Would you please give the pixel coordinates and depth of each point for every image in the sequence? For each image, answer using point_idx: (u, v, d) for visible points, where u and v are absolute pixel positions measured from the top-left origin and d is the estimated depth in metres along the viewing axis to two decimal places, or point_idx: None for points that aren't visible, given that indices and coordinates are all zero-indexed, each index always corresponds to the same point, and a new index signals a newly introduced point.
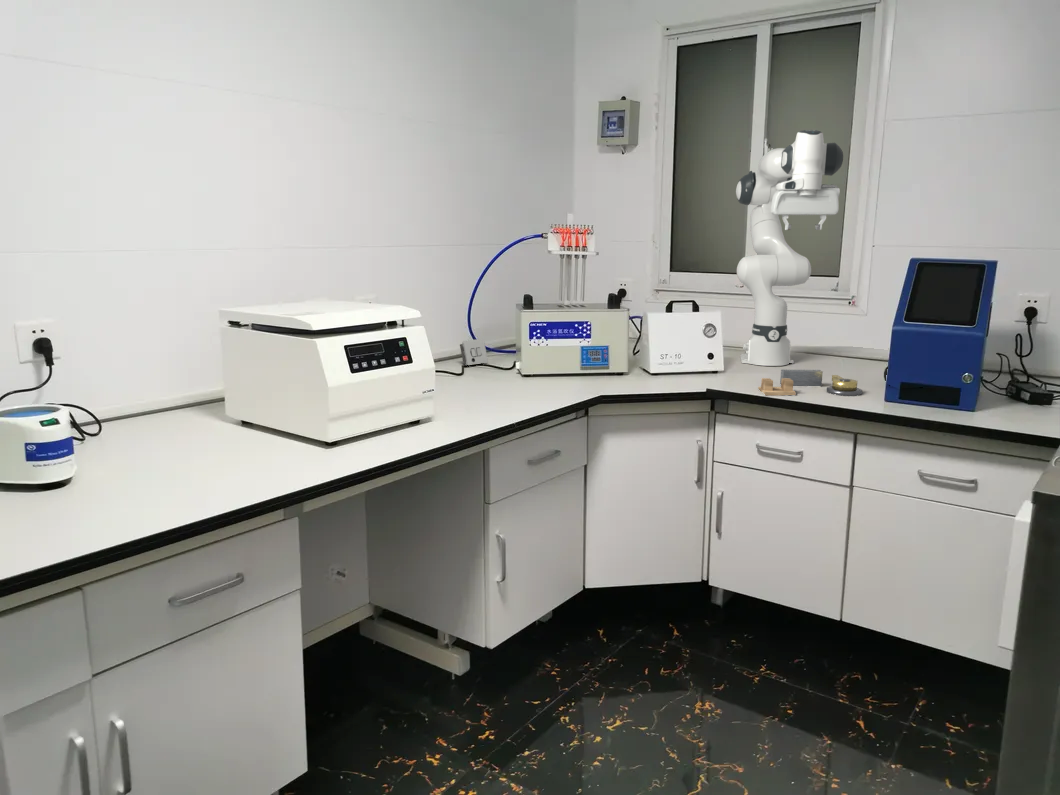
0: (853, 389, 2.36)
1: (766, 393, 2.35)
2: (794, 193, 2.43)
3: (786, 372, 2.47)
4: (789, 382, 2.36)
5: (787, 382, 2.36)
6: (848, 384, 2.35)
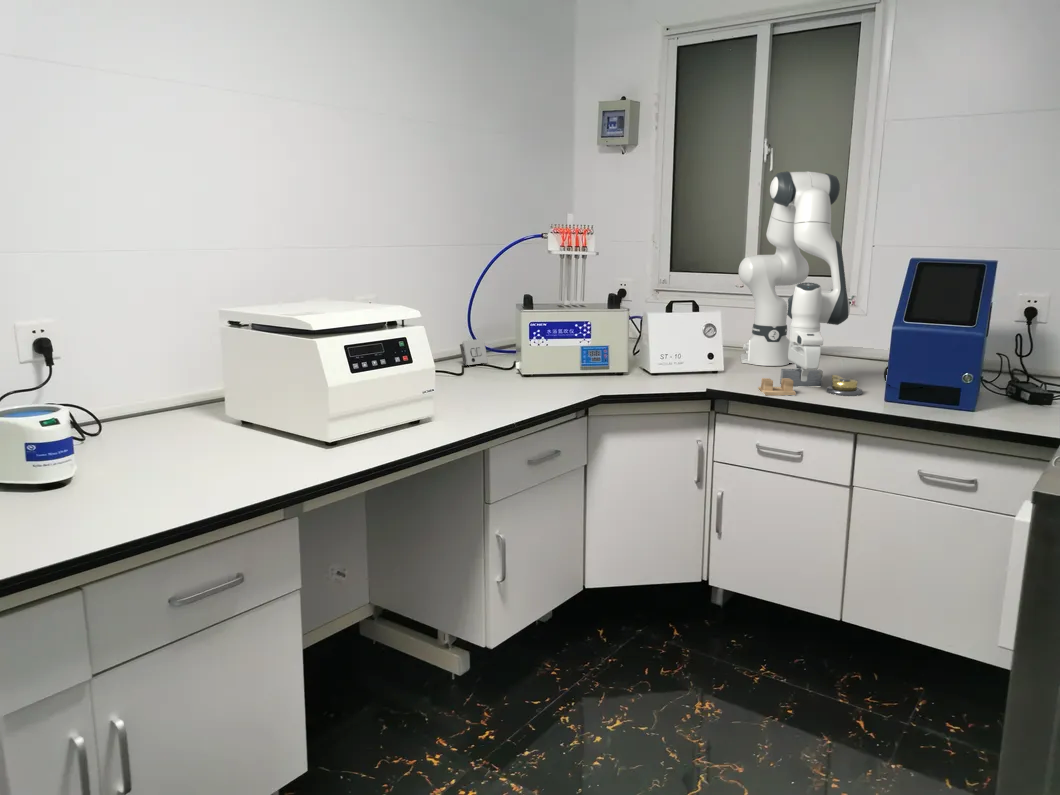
0: (853, 389, 2.36)
1: (766, 393, 2.35)
2: None
3: (785, 371, 2.47)
4: (789, 382, 2.36)
5: (787, 382, 2.36)
6: (848, 384, 2.35)
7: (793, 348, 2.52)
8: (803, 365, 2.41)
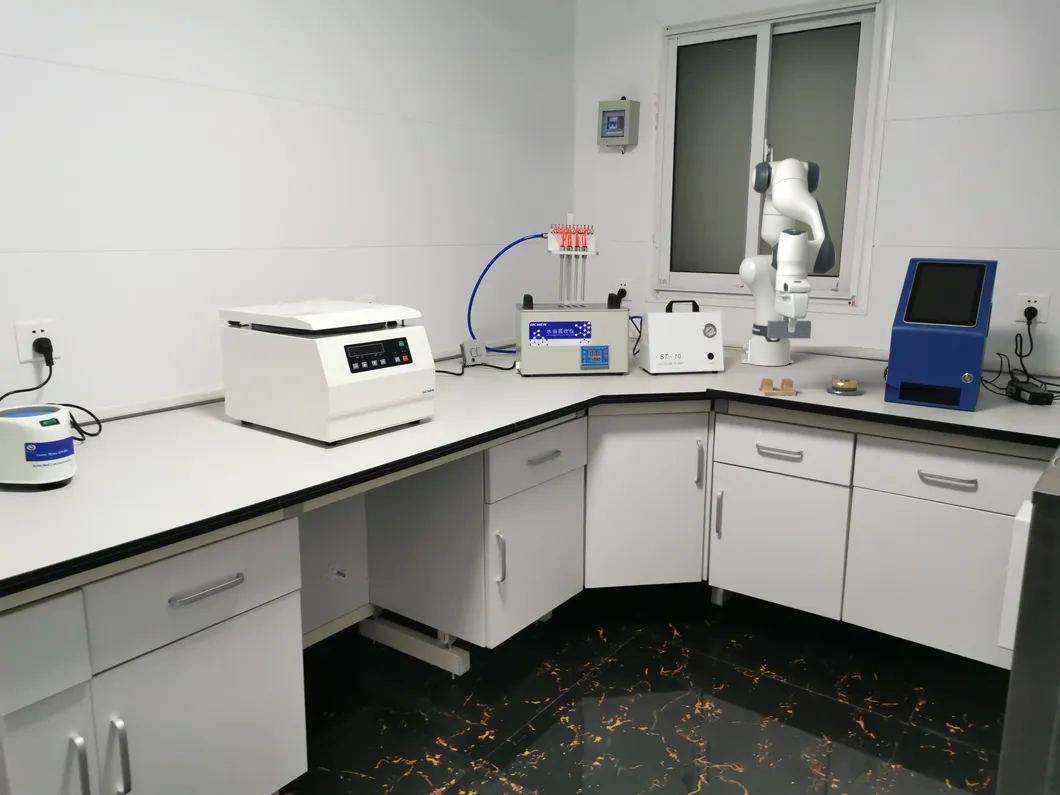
0: (853, 389, 2.36)
1: (766, 393, 2.35)
2: None
3: (772, 322, 2.35)
4: (789, 382, 2.36)
5: (787, 382, 2.36)
6: (848, 384, 2.35)
7: (779, 299, 2.40)
8: (790, 314, 2.29)
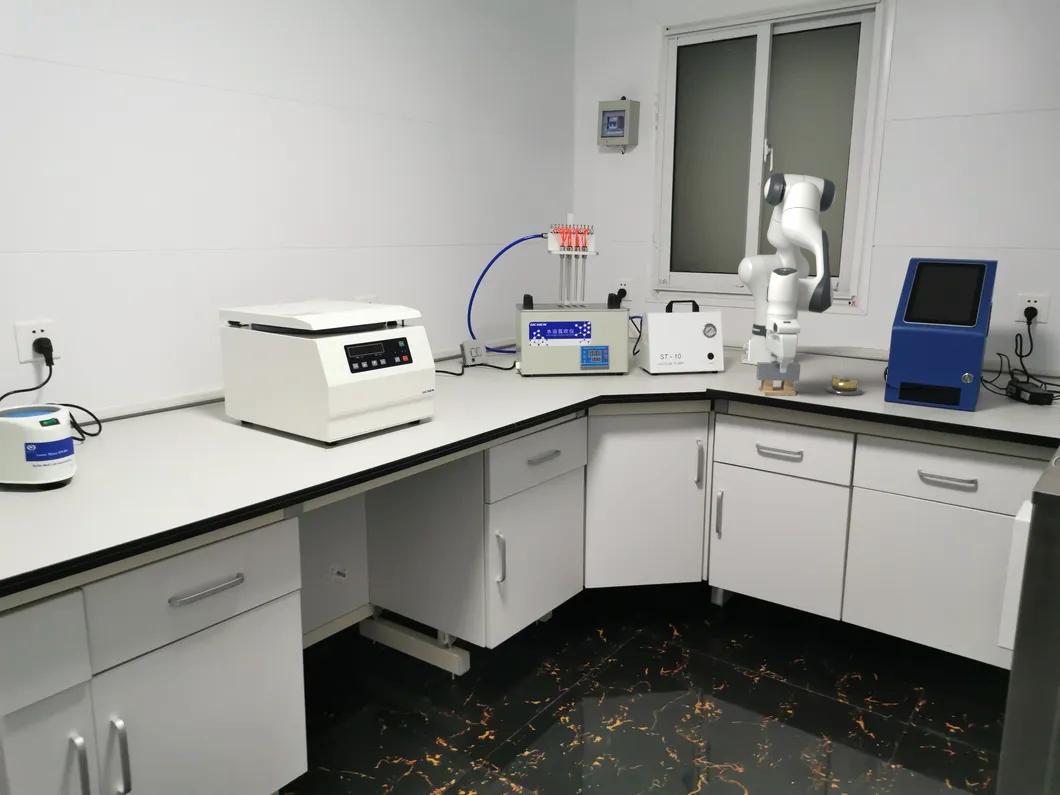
0: (853, 389, 2.36)
1: (766, 393, 2.35)
2: None
3: (762, 365, 2.36)
4: (789, 382, 2.36)
5: (787, 382, 2.36)
6: (848, 384, 2.35)
7: (770, 337, 2.40)
8: (779, 354, 2.29)
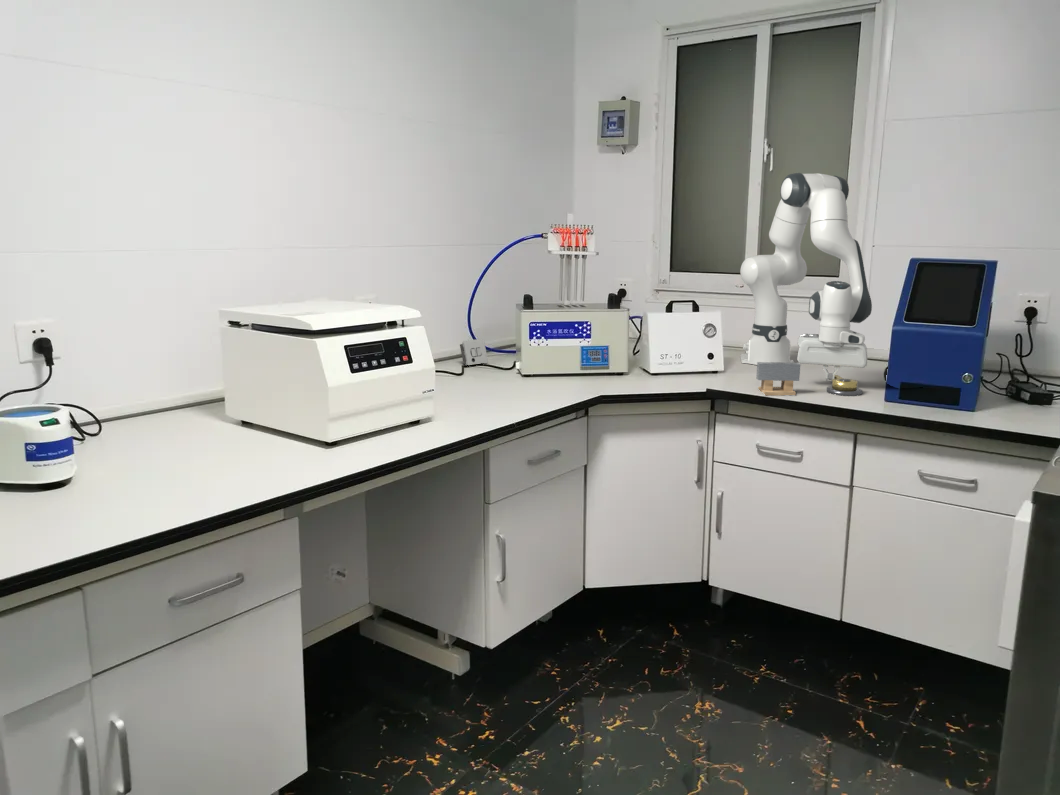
0: (853, 389, 2.36)
1: (766, 393, 2.35)
2: None
3: (762, 365, 2.36)
4: (789, 382, 2.36)
5: (787, 382, 2.36)
6: (848, 384, 2.35)
7: (814, 350, 2.44)
8: (855, 364, 2.39)
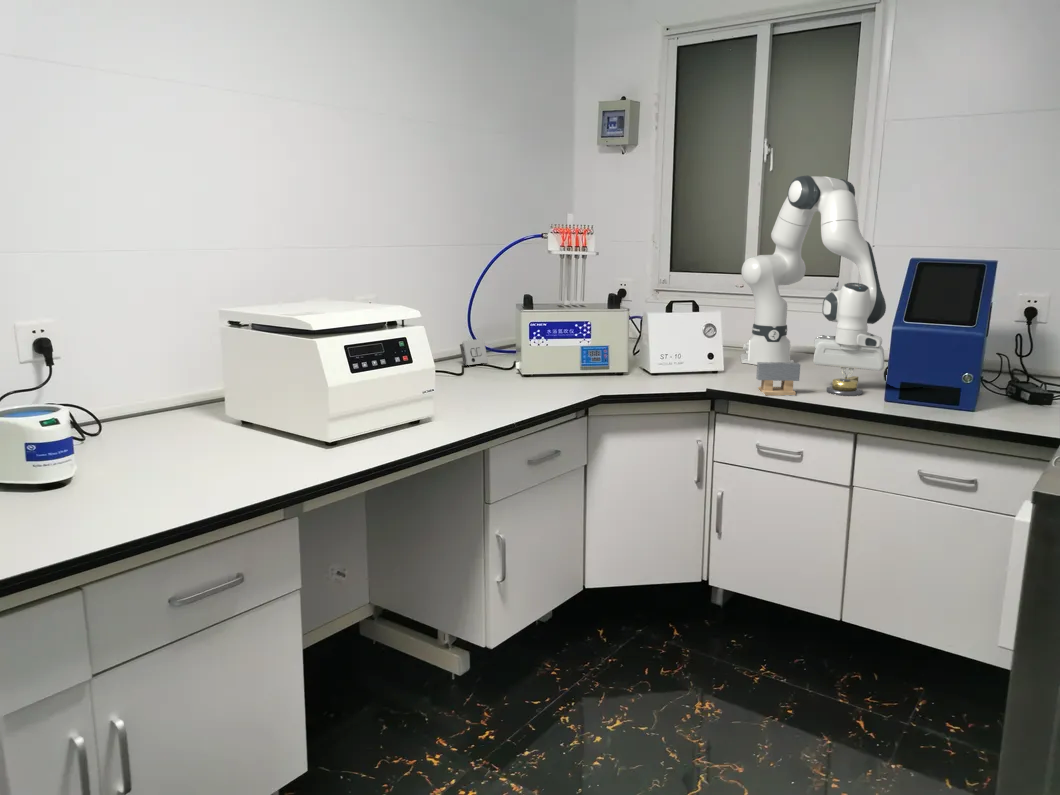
0: (845, 389, 2.35)
1: (766, 393, 2.35)
2: None
3: (762, 365, 2.36)
4: (789, 382, 2.36)
5: (787, 382, 2.36)
6: (839, 383, 2.36)
7: (830, 352, 2.42)
8: (872, 366, 2.38)
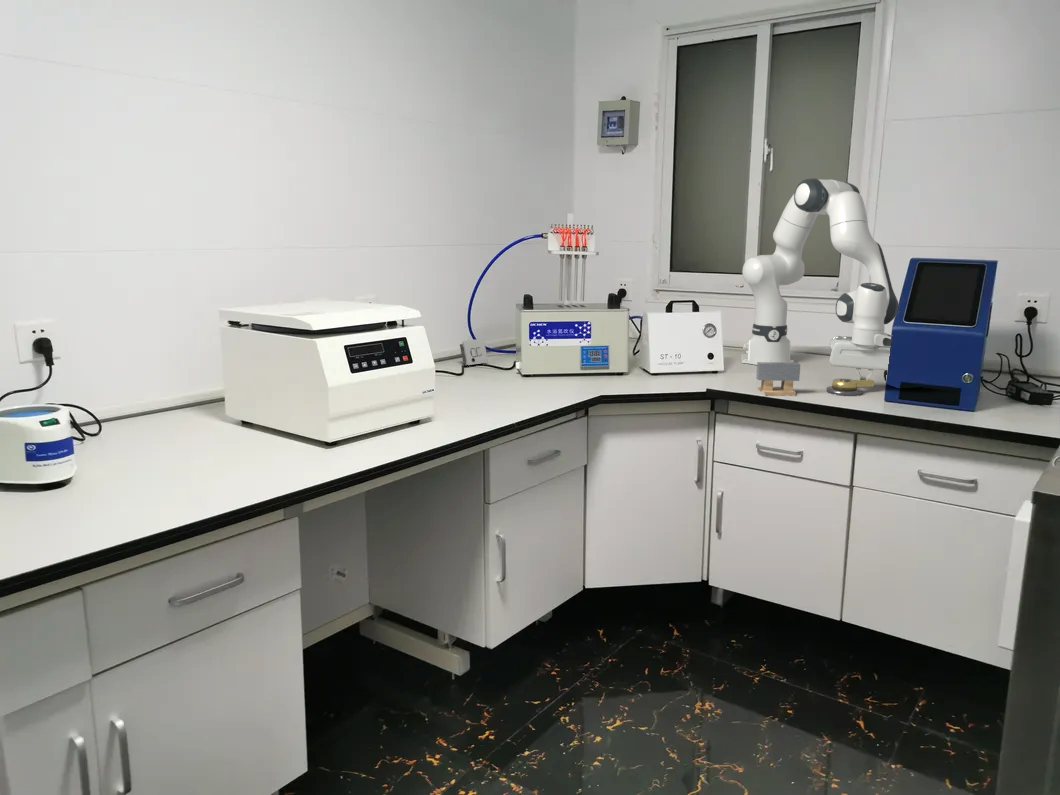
0: (837, 388, 2.37)
1: (766, 393, 2.35)
2: None
3: (762, 365, 2.36)
4: (789, 382, 2.36)
5: (787, 382, 2.36)
6: (833, 382, 2.38)
7: (847, 353, 2.40)
8: None
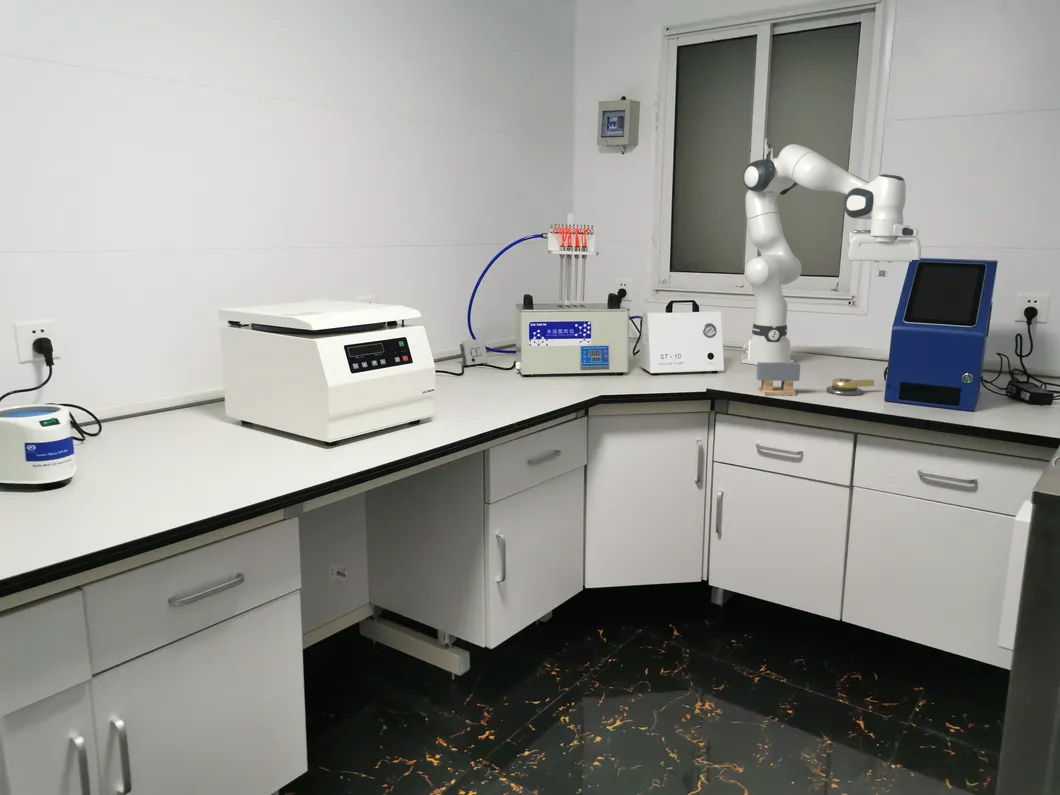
0: (837, 388, 2.37)
1: (766, 393, 2.35)
2: None
3: (762, 365, 2.36)
4: (789, 382, 2.36)
5: (787, 382, 2.36)
6: (833, 382, 2.38)
7: (866, 246, 2.40)
8: (909, 258, 2.35)
